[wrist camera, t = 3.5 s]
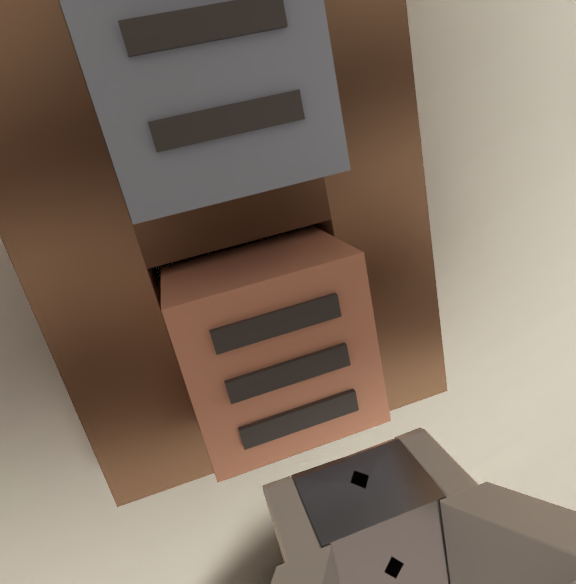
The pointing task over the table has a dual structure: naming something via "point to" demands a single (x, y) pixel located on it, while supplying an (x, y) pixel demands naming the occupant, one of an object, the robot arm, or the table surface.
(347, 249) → the tile three
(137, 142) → the tile two
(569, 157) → the table surface
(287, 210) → the panel
